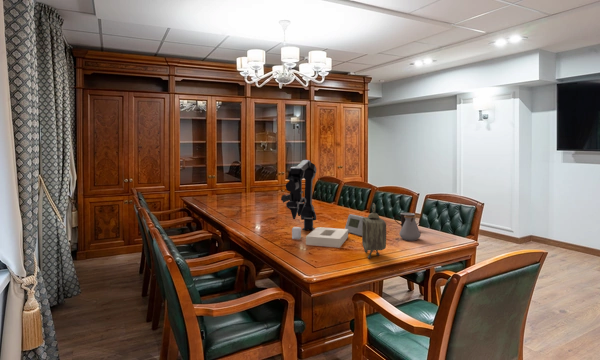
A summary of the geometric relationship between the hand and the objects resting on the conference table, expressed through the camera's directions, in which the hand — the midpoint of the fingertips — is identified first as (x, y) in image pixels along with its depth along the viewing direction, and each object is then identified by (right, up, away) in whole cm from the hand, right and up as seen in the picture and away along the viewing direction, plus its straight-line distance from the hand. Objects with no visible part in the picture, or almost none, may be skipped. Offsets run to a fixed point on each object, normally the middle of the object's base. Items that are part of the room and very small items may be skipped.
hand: (296, 217), depth 210 cm
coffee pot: (+62, -13, -5) cm, 63 cm away
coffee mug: (+67, -10, +25) cm, 72 cm away
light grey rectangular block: (0, -12, +1) cm, 12 cm away
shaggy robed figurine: (+37, -15, -32) cm, 51 cm away
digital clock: (+35, -11, +13) cm, 39 cm away
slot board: (+17, -12, -4) cm, 22 cm away
